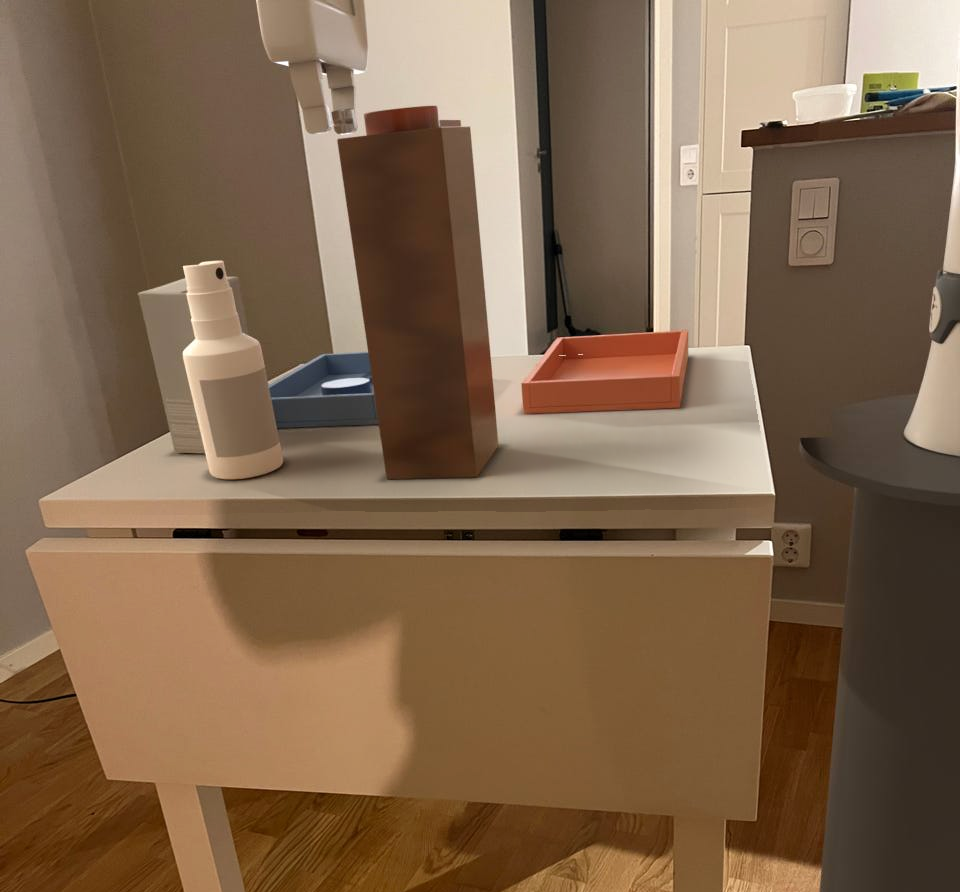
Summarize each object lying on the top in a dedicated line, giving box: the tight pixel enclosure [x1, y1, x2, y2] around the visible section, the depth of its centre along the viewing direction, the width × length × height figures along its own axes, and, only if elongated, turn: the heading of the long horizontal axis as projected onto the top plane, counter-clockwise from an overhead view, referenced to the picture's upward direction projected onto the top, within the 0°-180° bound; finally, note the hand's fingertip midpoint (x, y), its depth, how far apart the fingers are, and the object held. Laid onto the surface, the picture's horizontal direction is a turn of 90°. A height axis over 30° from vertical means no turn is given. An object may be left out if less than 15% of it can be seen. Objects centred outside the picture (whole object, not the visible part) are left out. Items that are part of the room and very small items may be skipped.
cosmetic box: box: [137, 276, 250, 454], centre depth 95 cm, size 8×7×16 cm
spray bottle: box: [182, 260, 284, 480], centre depth 85 cm, size 7×7×18 cm
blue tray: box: [268, 351, 379, 429], centre depth 110 cm, size 16×24×3 cm, turn 167°
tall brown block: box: [336, 125, 499, 480], centre depth 79 cm, size 8×9×26 cm
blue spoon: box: [321, 372, 372, 395], centre depth 115 cm, size 6×18×2 cm, turn 167°
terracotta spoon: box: [363, 105, 462, 136], centre depth 77 cm, size 6×18×2 cm, turn 167°
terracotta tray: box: [520, 329, 689, 415], centre depth 105 cm, size 16×24×3 cm, turn 167°
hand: (334, 133), depth 78 cm, fingers open, 8 cm apart
